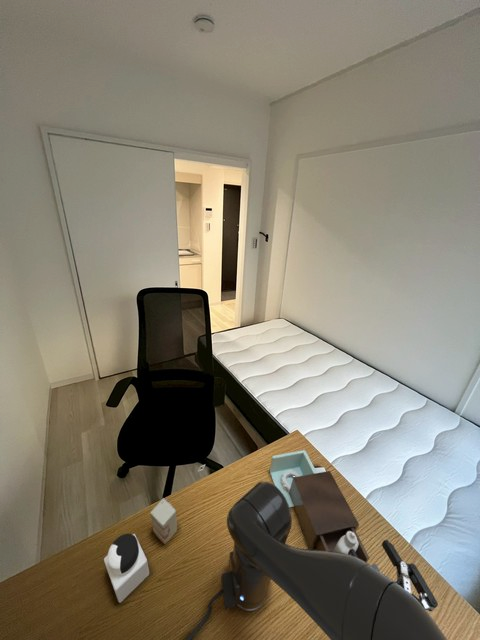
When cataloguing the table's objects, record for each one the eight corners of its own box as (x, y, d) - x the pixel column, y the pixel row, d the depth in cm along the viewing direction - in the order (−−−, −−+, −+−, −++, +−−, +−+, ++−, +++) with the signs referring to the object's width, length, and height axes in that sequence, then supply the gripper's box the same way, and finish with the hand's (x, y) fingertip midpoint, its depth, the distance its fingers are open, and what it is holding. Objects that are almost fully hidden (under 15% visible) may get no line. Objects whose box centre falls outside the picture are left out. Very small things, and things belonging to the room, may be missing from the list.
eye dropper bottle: (354, 571, 60) (369, 547, 55) (331, 568, 60) (344, 544, 55) (348, 549, 64) (361, 524, 59) (327, 546, 64) (338, 521, 59)
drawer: (385, 610, 55) (395, 599, 53) (341, 626, 53) (349, 615, 50) (340, 519, 71) (345, 506, 69) (304, 527, 69) (309, 515, 66)
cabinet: (351, 540, 68) (359, 524, 64) (310, 551, 65) (316, 535, 61) (324, 486, 80) (329, 470, 77) (288, 493, 78) (293, 477, 74)
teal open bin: (269, 470, 84) (272, 456, 81) (301, 464, 87) (304, 449, 84) (283, 508, 73) (287, 494, 70) (318, 500, 76) (323, 485, 73)
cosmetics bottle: (152, 532, 66) (149, 511, 62) (165, 517, 69) (163, 496, 65) (165, 546, 63) (162, 526, 59) (178, 530, 67) (176, 509, 62)
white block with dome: (137, 546, 63) (131, 521, 58) (150, 574, 59) (145, 549, 53) (108, 572, 58) (99, 547, 53) (119, 604, 54) (111, 580, 49)
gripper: (482, 652, 38) (400, 529, 53) (408, 684, 35) (343, 544, 49) (459, 665, 42) (388, 546, 56) (390, 696, 38) (334, 562, 53)
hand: (367, 546), depth 53 cm, fingers open, 8 cm apart
